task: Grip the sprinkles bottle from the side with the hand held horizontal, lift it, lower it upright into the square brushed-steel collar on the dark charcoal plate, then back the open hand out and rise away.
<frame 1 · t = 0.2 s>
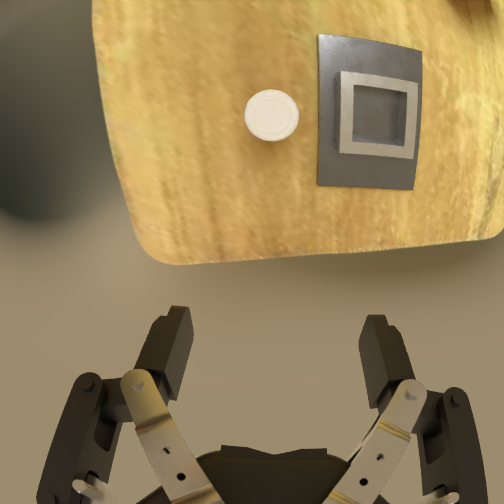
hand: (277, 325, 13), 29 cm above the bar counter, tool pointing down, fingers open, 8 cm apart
sprinkles bottle: (270, 108, 34), on the bar counter
collar socket: (370, 113, 33), on the bar counter
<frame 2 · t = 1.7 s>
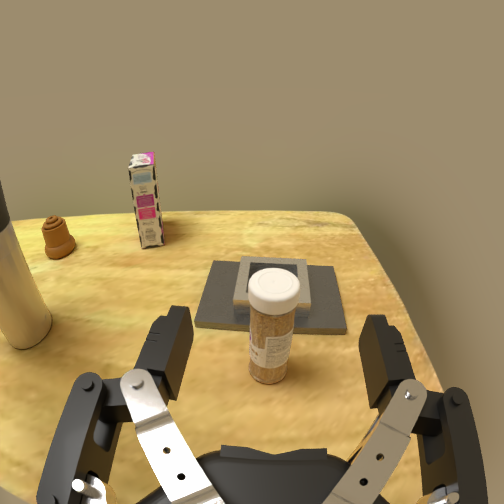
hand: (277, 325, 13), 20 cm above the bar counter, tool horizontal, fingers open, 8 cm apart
ornamental finial: (61, 251, 54), on the bar counter
sprinkles bottle: (268, 370, 33), on the bar counter
candy bar box: (153, 235, 60), on the bar counter
collar socket: (271, 297, 44), on the bar counter
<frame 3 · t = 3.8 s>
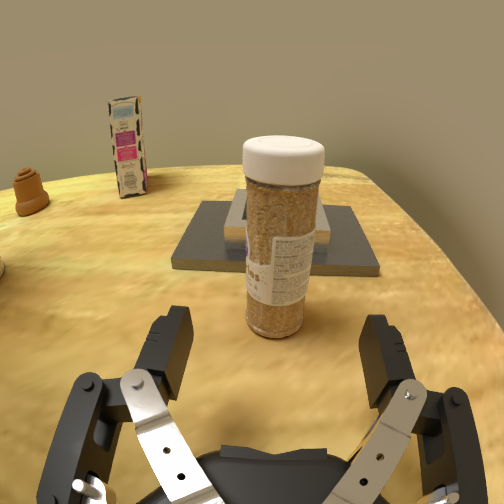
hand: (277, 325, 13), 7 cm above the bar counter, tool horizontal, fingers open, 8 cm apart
ornamental finial: (34, 209, 44), on the bar counter
sprinkles bottle: (274, 321, 23), on the bar counter
candy bar box: (135, 187, 50), on the bar counter
collar socket: (276, 236, 34), on the bar counter
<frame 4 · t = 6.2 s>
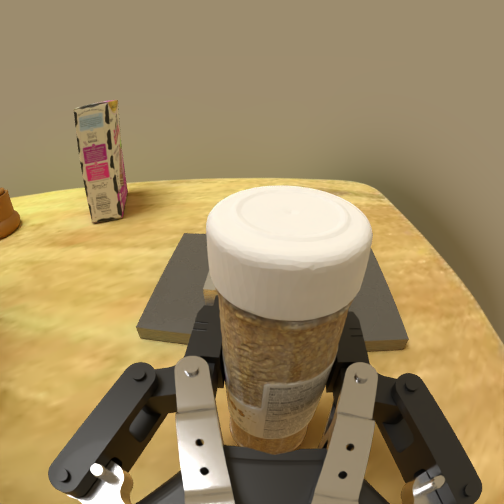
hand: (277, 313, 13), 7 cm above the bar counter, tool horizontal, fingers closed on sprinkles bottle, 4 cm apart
ornamental finial: (5, 232, 37), on the bar counter
sprinkles bottle: (268, 428, 15), on the bar counter, touching gripper
candy bar box: (112, 207, 42), on the bar counter
collar socket: (275, 288, 26), on the bar counter
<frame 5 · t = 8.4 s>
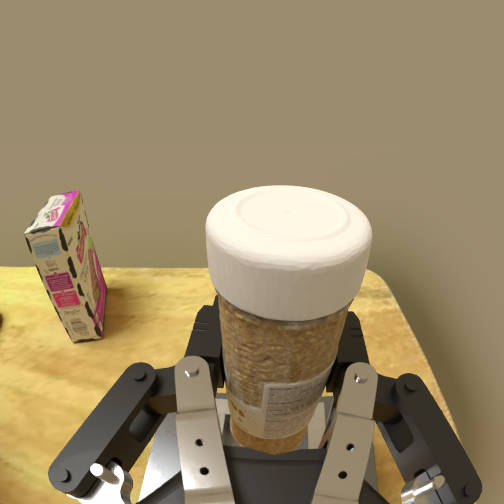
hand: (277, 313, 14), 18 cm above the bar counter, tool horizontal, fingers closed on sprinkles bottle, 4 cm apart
sprinkles bottle: (269, 428, 15), point 10 cm above the bar counter, touching gripper
candy bar box: (92, 314, 37), on the bar counter
collar socket: (263, 464, 21), on the bar counter
when the fingers open (10 cm above the bar counter, at t = 10.7 s): sprinkles bottle drops 1 cm, resting on collar socket.
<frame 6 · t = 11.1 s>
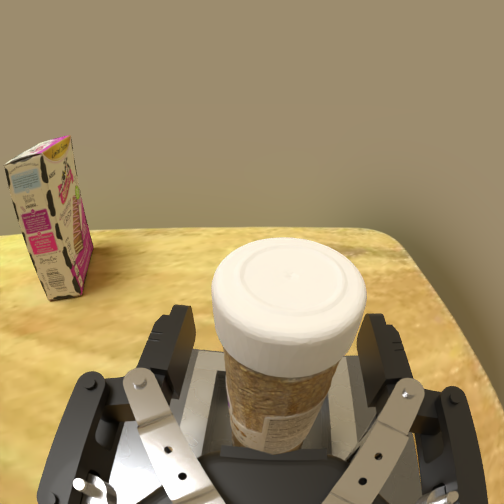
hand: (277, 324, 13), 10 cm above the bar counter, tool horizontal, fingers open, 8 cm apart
sprinkles bottle: (267, 439, 16), point 1 cm above the bar counter, touching collar socket
candy bar box: (74, 273, 33), on the bar counter
collar socket: (266, 443, 17), on the bar counter
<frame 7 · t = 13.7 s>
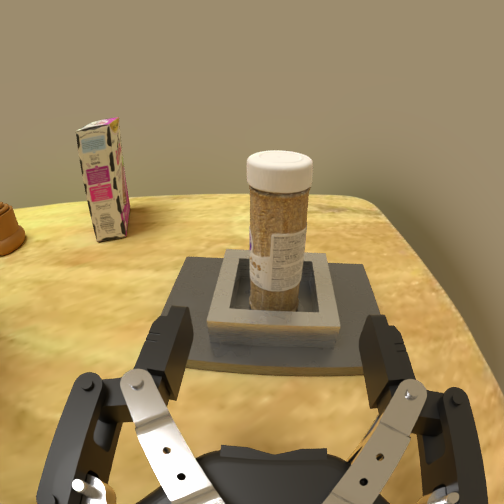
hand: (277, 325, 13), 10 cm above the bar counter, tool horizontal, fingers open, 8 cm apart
ornamental finial: (10, 247, 38), on the bar counter
sprinkles bottle: (274, 306, 27), point 1 cm above the bar counter, touching collar socket
candy bar box: (116, 224, 44), on the bar counter
collar socket: (273, 313, 27), on the bar counter
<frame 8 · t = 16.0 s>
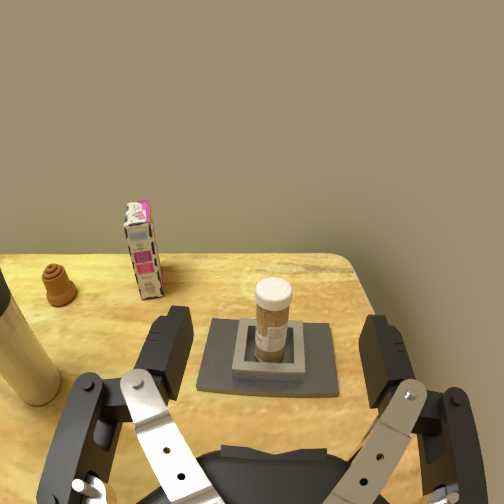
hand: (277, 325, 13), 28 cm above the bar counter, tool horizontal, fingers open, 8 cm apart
ornamental finial: (63, 297, 55), on the bar counter
sprinkles bottle: (269, 355, 43), point 1 cm above the bar counter, touching collar socket
candy bar box: (152, 282, 60), on the bar counter
collar socket: (268, 358, 44), on the bar counter
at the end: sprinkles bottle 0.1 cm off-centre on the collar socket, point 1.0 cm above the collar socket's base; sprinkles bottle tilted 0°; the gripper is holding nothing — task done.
